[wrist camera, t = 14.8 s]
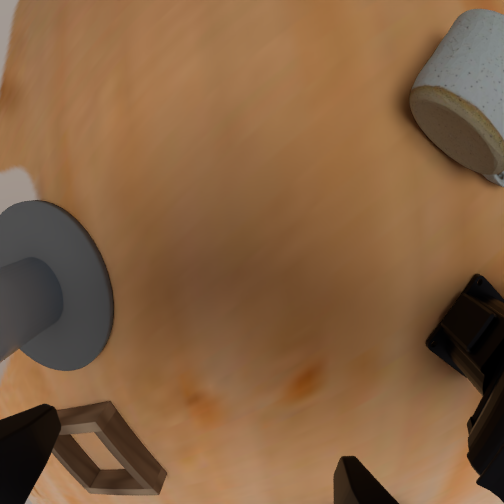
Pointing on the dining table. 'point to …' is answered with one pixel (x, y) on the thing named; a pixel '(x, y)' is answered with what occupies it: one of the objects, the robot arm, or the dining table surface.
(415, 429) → the dining table surface
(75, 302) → the rubber mat
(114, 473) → the jug holder
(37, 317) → the jug
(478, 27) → the ceramic mug
